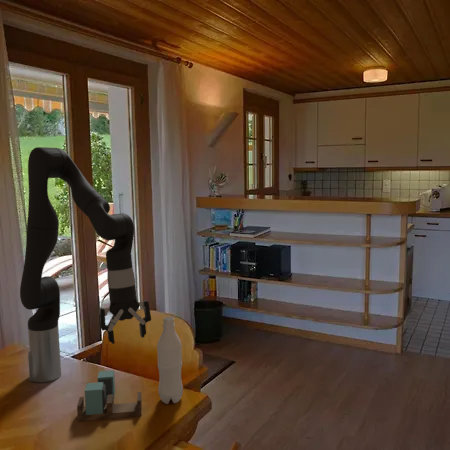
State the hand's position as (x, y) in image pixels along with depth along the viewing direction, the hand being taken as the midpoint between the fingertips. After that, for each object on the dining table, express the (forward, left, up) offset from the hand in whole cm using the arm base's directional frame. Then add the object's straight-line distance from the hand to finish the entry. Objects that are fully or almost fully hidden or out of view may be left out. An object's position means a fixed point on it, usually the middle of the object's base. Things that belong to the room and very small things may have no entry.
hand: (127, 339), depth 135 cm
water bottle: (+12, 0, -20) cm, 23 cm away
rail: (-5, -5, -19) cm, 21 cm away
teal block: (-7, +6, -20) cm, 22 cm away
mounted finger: (-9, -5, -18) cm, 21 cm away
